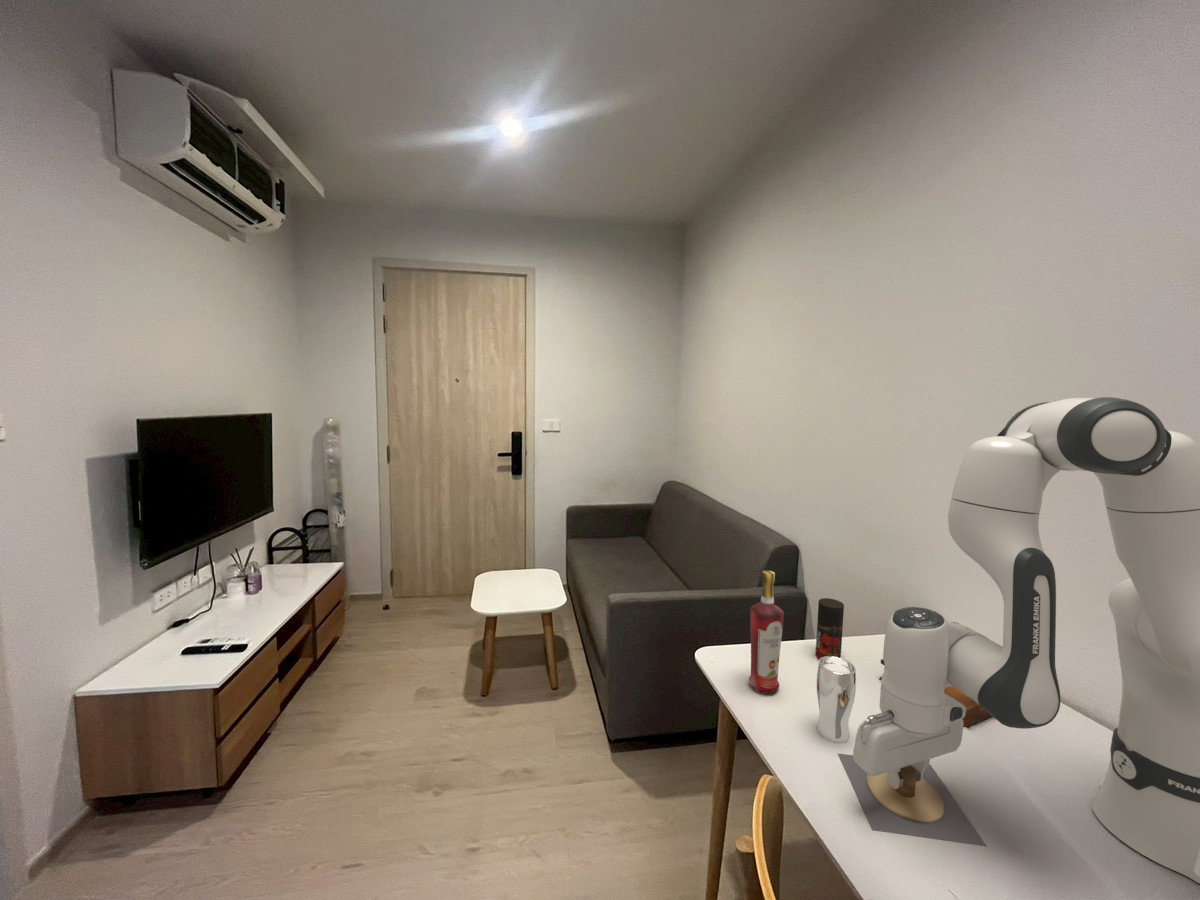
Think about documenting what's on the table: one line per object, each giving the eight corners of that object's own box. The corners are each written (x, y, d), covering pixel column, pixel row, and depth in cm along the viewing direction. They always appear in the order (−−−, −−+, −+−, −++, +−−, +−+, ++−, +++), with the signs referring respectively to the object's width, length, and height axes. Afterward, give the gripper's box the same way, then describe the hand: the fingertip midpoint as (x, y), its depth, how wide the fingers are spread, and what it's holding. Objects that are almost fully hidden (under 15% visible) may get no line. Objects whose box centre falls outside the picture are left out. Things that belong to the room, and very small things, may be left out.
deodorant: (810, 654, 124) (813, 600, 122) (827, 649, 126) (830, 596, 125) (828, 666, 119) (832, 609, 117) (845, 661, 121) (849, 605, 119)
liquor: (768, 676, 114) (773, 565, 111) (786, 694, 107) (792, 577, 104) (741, 680, 113) (745, 568, 110) (758, 699, 106) (763, 579, 102)
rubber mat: (930, 767, 86) (930, 764, 86) (986, 849, 70) (986, 845, 70) (837, 756, 89) (837, 753, 89) (871, 833, 73) (872, 829, 73)
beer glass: (857, 749, 90) (862, 677, 89) (818, 744, 92) (822, 672, 90) (846, 725, 97) (850, 657, 95) (810, 720, 98) (814, 653, 97)
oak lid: (921, 772, 84) (923, 748, 83) (959, 828, 73) (961, 800, 73) (856, 765, 86) (858, 741, 85) (883, 818, 75) (885, 791, 74)
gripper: (879, 732, 72) (873, 813, 73) (973, 706, 78) (966, 781, 79) (846, 706, 78) (841, 782, 79) (936, 684, 84) (930, 755, 85)
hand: (904, 782), depth 79 cm, fingers closed on oak lid, 3 cm apart
